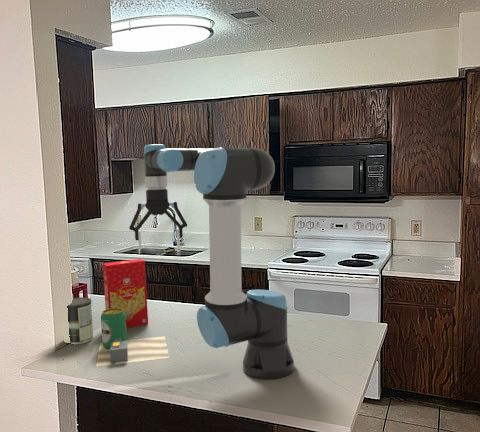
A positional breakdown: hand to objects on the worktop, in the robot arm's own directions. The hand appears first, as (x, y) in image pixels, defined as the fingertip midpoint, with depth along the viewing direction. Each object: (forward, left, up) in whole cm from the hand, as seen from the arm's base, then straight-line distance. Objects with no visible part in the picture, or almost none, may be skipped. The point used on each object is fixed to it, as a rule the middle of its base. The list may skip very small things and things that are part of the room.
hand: (159, 248), depth 172 cm
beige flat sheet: (-16, +11, -32) cm, 37 cm away
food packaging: (+14, +13, -32) cm, 37 cm away
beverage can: (-10, +17, -31) cm, 36 cm away
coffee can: (+4, +30, -32) cm, 44 cm away
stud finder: (-21, +15, -30) cm, 40 cm away
